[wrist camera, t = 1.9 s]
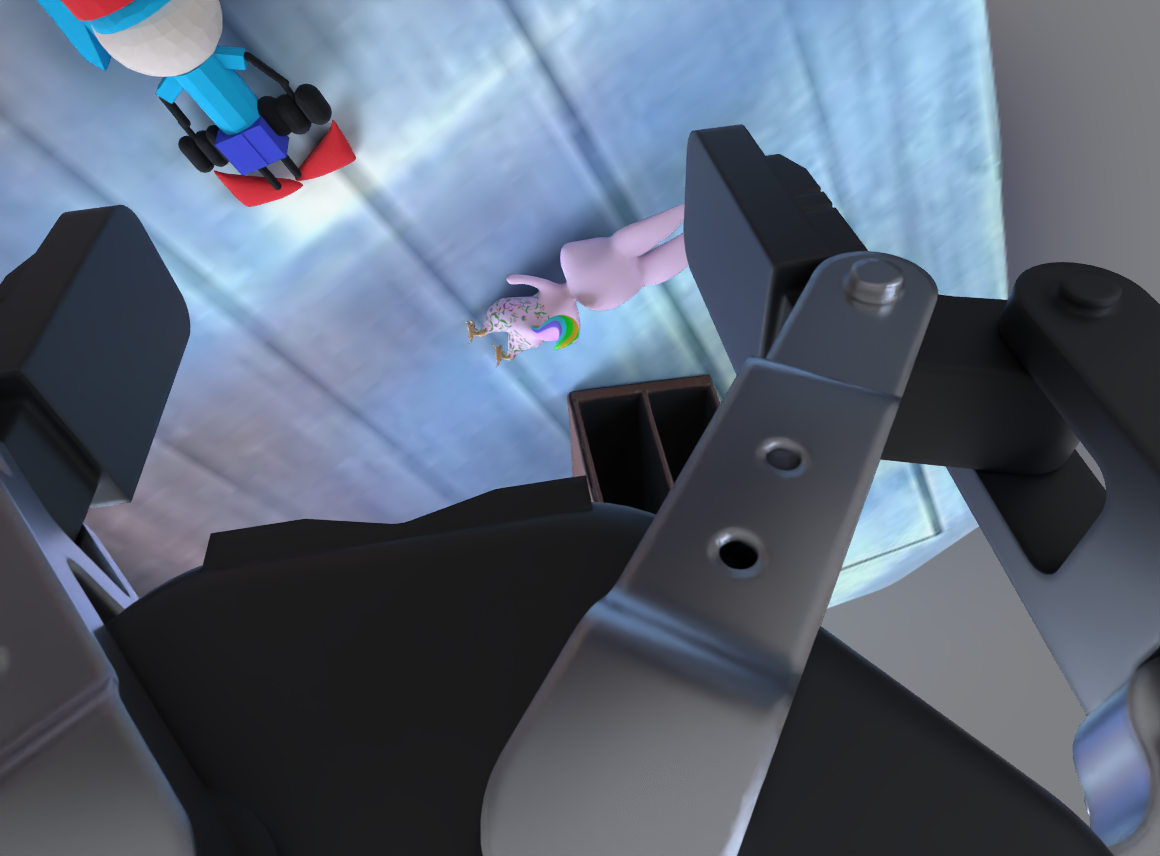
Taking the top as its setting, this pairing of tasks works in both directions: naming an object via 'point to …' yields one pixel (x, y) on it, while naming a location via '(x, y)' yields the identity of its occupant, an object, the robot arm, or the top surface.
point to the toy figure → (207, 88)
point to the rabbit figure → (587, 283)
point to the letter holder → (638, 437)
